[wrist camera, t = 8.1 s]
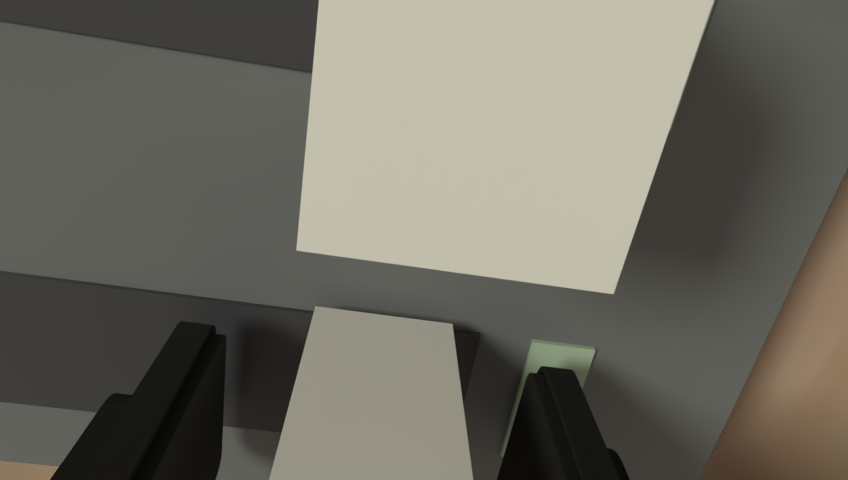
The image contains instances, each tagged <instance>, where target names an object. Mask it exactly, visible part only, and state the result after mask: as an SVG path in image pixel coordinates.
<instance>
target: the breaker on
mask: <svg viewBox="0 0 848 480" xmlns="http://www.w3.org/2000/svg"><path fill="white" fill-rule="evenodd" d="M713 1H714V0H319V5H318V16H317V27H316V38H315V49H314V60H313V71H312V82H311V93H310V104H309V116H308V127H307V138H306V149H305V160H304V171H303V182H302V193H301V204H300V215H299V226H298V237H297V248H296V251H303V252H310V253H318V254H325V255H332V256H339V257H347V258H354V259H361V260H368V261H376V262H383V263H390V264H397V265H405V266H412V267H419V268H426V269H434V270H441V271H448V272H455V273H463V274H470V275H477V276H484V277H492V278H499V279H506V280H514V281H521V282H528V283H535V284H543V285H550V286H557V287H564V288H572V289H579V290H586V291H593V292H601V293H608V294H614V291H615V288H616V285H617V282H618V280H619V277H620V274H621V271H622V268H623V265H624V262H625V259H626V256H627V253H628V250H629V247H630V244H631V241H632V238H633V236H634V233H635V230H636V227H637V224H638V221H639V218H640V215H641V212H642V209H643V206H644V203H645V200H646V197H647V194H648V192H649V189H650V186H651V183H652V180H653V177H654V174H655V171H656V168H657V165H658V162H659V159H660V156H661V153H662V150H663V148H664V145H665V142H666V139H667V136H668V133H669V130H670V127H671V124H672V121H673V118H674V115H675V112H676V109H677V106H678V103H679V101H680V98H681V95H682V92H683V89H684V86H685V83H686V80H687V77H688V74H689V71H690V68H691V65H692V62H693V59H694V57H695V54H696V51H697V48H698V45H699V42H700V39H701V36H702V33H703V30H704V27H705V24H706V21H707V18H708V15H709V13H710V10H711V7H712V4H713Z"/></svg>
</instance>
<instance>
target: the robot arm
mask: <svg viewBox="0 0 848 480" xmlns="http://www.w3.org/2000/svg"><path fill="white" fill-rule="evenodd" d="M225 364H226V336H225V335H221V334H216V328H215V326H214V325H210V324H202V323H194V322H185V321H181V322H179V323H178V324H177V326H176V327H175V329H174V331H173V332H172V334H171V335H170V337H169V338H168V340H167V341H166V343H165V345H164V346H163V348H162V349H161V351H160V352H159V354H158V355H157V357H156V359H155V360H154V362H153V363H152V365H151V366H150V368H149V370H148V371H147V373H146V374H145V376H144V377H143V379H142V380H141V382H140V384H139V385H138V387H137V388H136V390H135V391H134V393H133V394H132V395H128V394H119V393H114V394H112V395H110V396H109V397H108V398H107V399H106V401H105V402H104V403H103V404H102V406H101V407H100V409H99V410H98V412H97V413H96V415H95V416H94V417H93V419H92V420H91V422H90V423H89V425H88V426H87V427H86V429H85V430H84V432H83V433H82V435H81V436H80V438H79V439H78V440H77V442H76V443H75V445H74V446H73V448H72V449H71V450H70V452H69V453H68V455H67V456H66V458H65V459H64V461H63V462H62V463H61V465H60V466H59V468H58V469H57V471H56V472H55V473H54V475H53V476H52V478H51V479H50V480H216V477H217V474H218V471H219V467H220V462H221V456H222V438H223V413H224V389H225ZM497 480H630V479H629V476H628V474H627V472H626V469H625V467H624V465H623V463H622V460H621V459H620V457H619V455H618V454H617V452H616V451H614V450H613V449H610V448H607V447H606V445H605V443H604V440H603V438H602V435H601V433H600V431H599V428H598V426H597V424H596V421H595V419H594V416H593V414H592V412H591V409H590V407H589V405H588V402H587V400H586V397H585V395H584V393H583V390H582V388H581V386H580V383H579V381H578V379H577V376H576V374H575V372H574V371H573V370H571V369H563V368H555V367H547V366H541V367H540V368H539V370H538V372H537V373H529V374H528V376H527V378H526V381H525V385H524V388H523V392H522V395H521V399H520V402H519V405H518V409H517V412H516V416H515V419H514V423H513V426H512V429H511V433H510V436H509V440H508V443H507V447H506V450H505V453H504V457H503V460H502V464H501V467H500V470H499V474H498V477H497Z"/></svg>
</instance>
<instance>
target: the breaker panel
mask: <svg viewBox="0 0 848 480" xmlns="http://www.w3.org/2000/svg"><path fill="white" fill-rule="evenodd" d="M318 5H319V0H0V460H1V461H11V462H21V463H31V464H41V465H51V466H60V465H61V463H62V462H63V461H64V459H65V458H66V456H67V455H68V453H69V452H70V450H71V449H72V448H73V446H74V445H75V443H76V442H77V440H78V439H79V438H80V436H81V435H82V433H83V432H84V430H85V429H86V427H87V426H88V425H89V423H90V422H91V420H92V419H93V417H94V416H95V415H96V413H97V412H98V410H99V409H100V407H101V406H102V404H103V403H104V402H105V401H106V399H107V398H108V397H109V396H110V395H112V394H114V393H119V394H128V395H132V394H133V393H134V391H135V390H136V388H137V387H138V385H139V384H140V382H141V380H142V379H143V377H144V376H145V374H146V373H147V371H148V370H149V368H150V366H151V365H152V363H153V362H154V360H155V359H156V357H157V355H158V354H159V352H160V351H161V349H162V348H163V346H164V345H165V343H166V341H167V340H168V338H169V337H170V335H171V334H172V332H173V331H174V329H175V327H176V326H177V324H178V323H179V322H181V321H185V322H194V323H202V324H210V325H214V326H215V328H216V334H221V335H225V336H226V364H225V389H224V413H223V438H222V456H221V462H220V467H219V471H218V474H217V477H216V480H269V478H270V474H271V471H272V467H273V463H274V459H275V455H276V452H277V448H278V444H279V440H280V437H281V433H282V429H283V425H284V422H285V418H286V414H287V410H288V407H289V403H290V399H291V395H292V392H293V388H294V384H295V380H296V377H297V373H298V369H299V365H300V362H301V358H302V354H303V350H304V347H305V343H306V339H307V335H308V332H309V328H310V324H311V320H312V317H313V313H314V309H315V306H318V307H326V308H334V309H341V310H349V311H357V312H365V313H372V314H380V315H388V316H396V317H403V318H411V319H419V320H426V321H434V322H442V323H450V324H453V332H454V339H455V347H456V354H457V362H458V369H459V377H460V384H461V392H462V399H463V407H464V414H465V422H466V429H467V436H468V444H469V451H470V459H471V466H472V474H473V480H497V477H498V474H499V470H500V467H501V464H502V460H503V457H504V453H505V450H506V447H507V443H508V440H509V436H510V433H511V429H512V426H513V423H514V419H515V416H516V412H517V409H518V405H519V402H520V399H521V395H522V392H523V388H524V385H525V381H526V378H527V376H528V374H529V373H537V372H538V370H539V368H540V367H541V366H547V367H555V368H563V369H571V370H573V371H574V372H575V374H576V376H577V379H578V381H579V383H580V386H581V388H582V390H583V393H584V395H585V397H586V400H587V402H588V405H589V407H590V409H591V412H592V414H593V416H594V419H595V421H596V424H597V426H598V428H599V431H600V433H601V435H602V438H603V440H604V443H605V445H606V447H607V448H610V449H613V450H614V451H616V452H617V454H618V455H619V457H620V459H621V460H622V463H623V465H624V467H625V469H626V472H627V474H628V476H629V479H630V480H699V479H700V477H701V475H702V473H703V471H704V469H705V466H706V464H707V462H708V460H709V458H710V456H711V454H712V452H713V450H714V448H715V445H716V443H717V441H718V439H719V437H720V435H721V433H722V431H723V429H724V427H725V424H726V422H727V420H728V418H729V416H730V414H731V412H732V410H733V408H734V406H735V403H736V401H737V399H738V397H739V395H740V393H741V391H742V389H743V387H744V385H745V382H746V380H747V378H748V376H749V374H750V372H751V370H752V368H753V366H754V364H755V361H756V359H757V357H758V355H759V353H760V351H761V349H762V347H763V345H764V343H765V340H766V338H767V336H768V334H769V332H770V330H771V328H772V326H773V324H774V322H775V319H776V317H777V315H778V313H779V311H780V309H781V307H782V305H783V303H784V301H785V299H786V296H787V294H788V292H789V290H790V288H791V286H792V284H793V282H794V280H795V278H796V275H797V273H798V271H799V269H800V267H801V265H802V263H803V261H804V259H805V257H806V254H807V252H808V250H809V248H810V246H811V244H812V242H813V240H814V238H815V236H816V233H817V231H818V229H819V227H820V225H821V223H822V221H823V219H824V217H825V215H826V212H827V210H828V208H829V206H830V204H831V202H832V200H833V198H834V196H835V194H836V191H837V189H838V187H839V185H840V183H841V181H842V179H843V177H844V175H845V173H846V170H847V168H848V0H714V1H713V4H712V7H711V10H710V13H709V15H708V18H707V21H706V24H705V27H704V30H703V33H702V36H701V39H700V42H699V45H698V48H697V51H696V54H695V57H694V59H693V62H692V65H691V68H690V71H689V74H688V77H687V80H686V83H685V86H684V89H683V92H682V95H681V98H680V101H679V103H678V106H677V109H676V112H675V115H674V118H673V121H672V124H671V127H670V130H669V133H668V136H667V139H666V142H665V145H664V148H663V150H662V153H661V156H660V159H659V162H658V165H657V168H656V171H655V174H654V177H653V180H652V183H651V186H650V189H649V192H648V194H647V197H646V200H645V203H644V206H643V209H642V212H641V215H640V218H639V221H638V224H637V227H636V230H635V233H634V236H633V238H632V241H631V244H630V247H629V250H628V253H627V256H626V259H625V262H624V265H623V268H622V271H621V274H620V277H619V280H618V282H617V285H616V288H615V291H614V294H608V293H601V292H593V291H586V290H579V289H572V288H564V287H557V286H550V285H543V284H535V283H528V282H521V281H514V280H506V279H499V278H492V277H484V276H477V275H470V274H463V273H455V272H448V271H441V270H434V269H426V268H419V267H412V266H405V265H397V264H390V263H383V262H376V261H368V260H361V259H354V258H347V257H339V256H332V255H325V254H318V253H310V252H303V251H296V248H297V237H298V226H299V215H300V204H301V193H302V182H303V171H304V160H305V149H306V138H307V127H308V116H309V104H310V93H311V82H312V71H313V60H314V49H315V38H316V27H317V16H318Z"/></svg>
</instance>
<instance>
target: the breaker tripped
mask: <svg viewBox="0 0 848 480" xmlns="http://www.w3.org/2000/svg"><path fill="white" fill-rule="evenodd" d="M269 480H473V474H472V466H471V459H470V451H469V444H468V436H467V429H466V422H465V414H464V407H463V399H462V392H461V384H460V377H459V369H458V362H457V354H456V347H455V339H454V332H453V324H450V323H442V322H434V321H426V320H419V319H411V318H403V317H396V316H388V315H380V314H372V313H365V312H357V311H349V310H341V309H334V308H326V307H318V306H315V309H314V313H313V317H312V320H311V324H310V328H309V332H308V335H307V339H306V343H305V347H304V350H303V354H302V358H301V362H300V365H299V369H298V373H297V377H296V380H295V384H294V388H293V392H292V395H291V399H290V403H289V407H288V410H287V414H286V418H285V422H284V425H283V429H282V433H281V437H280V440H279V444H278V448H277V452H276V455H275V459H274V463H273V467H272V471H271V474H270V478H269Z"/></svg>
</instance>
